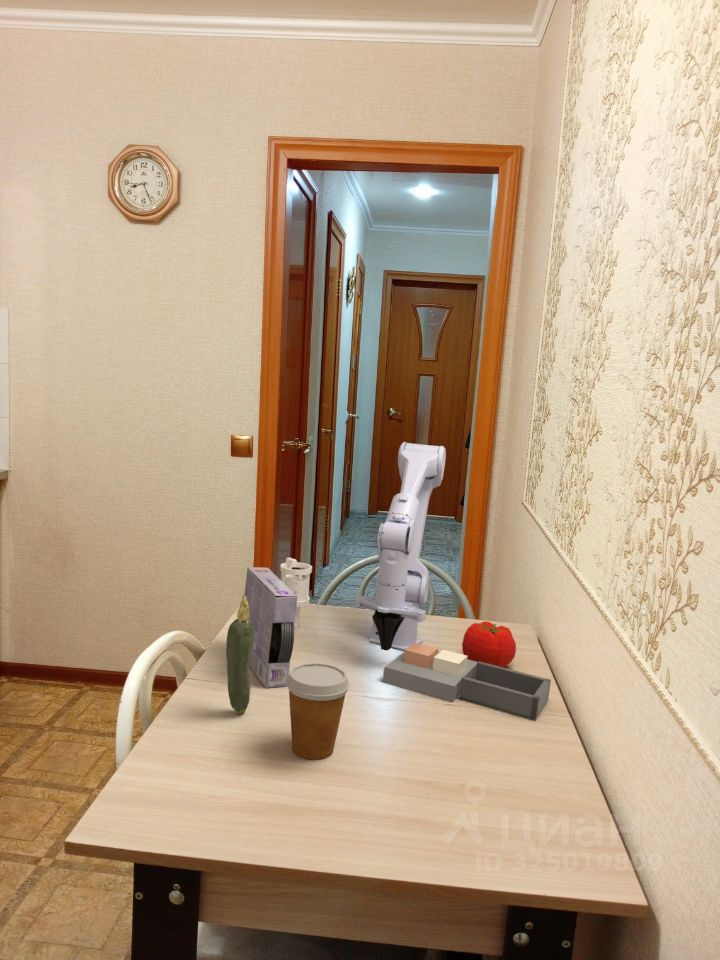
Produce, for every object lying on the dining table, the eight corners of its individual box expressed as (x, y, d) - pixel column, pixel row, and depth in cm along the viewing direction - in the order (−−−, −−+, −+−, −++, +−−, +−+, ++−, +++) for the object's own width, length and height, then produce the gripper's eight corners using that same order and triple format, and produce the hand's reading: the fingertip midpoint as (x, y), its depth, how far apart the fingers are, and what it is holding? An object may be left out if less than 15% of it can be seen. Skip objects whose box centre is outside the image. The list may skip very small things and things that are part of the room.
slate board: (382, 681, 135) (384, 666, 134) (411, 659, 147) (413, 645, 147) (452, 702, 128) (454, 686, 128) (477, 676, 141) (478, 662, 140)
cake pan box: (292, 689, 129) (299, 594, 126) (266, 692, 126) (272, 595, 124) (261, 649, 146) (267, 565, 143) (237, 651, 144) (242, 566, 141)
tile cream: (432, 669, 135) (433, 657, 134) (441, 661, 139) (443, 649, 139) (457, 676, 133) (458, 663, 132) (466, 668, 137) (467, 655, 137)
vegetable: (243, 722, 114) (250, 602, 112) (217, 718, 115) (224, 599, 113) (252, 711, 119) (260, 595, 116) (228, 706, 120) (235, 591, 117)
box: (459, 698, 130) (461, 678, 130) (476, 680, 139) (478, 661, 138) (535, 720, 124) (538, 698, 123) (548, 700, 133) (550, 679, 132)
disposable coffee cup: (347, 737, 112) (353, 665, 111) (339, 769, 103) (346, 691, 101) (288, 730, 113) (293, 658, 112) (275, 761, 104) (280, 683, 102)
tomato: (518, 678, 142) (523, 636, 141) (463, 673, 142) (467, 631, 141) (508, 658, 152) (512, 619, 151) (457, 653, 152) (461, 614, 151)
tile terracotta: (403, 662, 137) (404, 649, 137) (413, 654, 142) (414, 642, 142) (427, 668, 135) (428, 656, 135) (437, 660, 140) (438, 648, 139)
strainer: (296, 618, 166) (301, 555, 164) (313, 628, 161) (318, 563, 159) (270, 622, 162) (274, 558, 160) (287, 632, 156) (292, 566, 154)
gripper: (349, 579, 140) (344, 645, 141) (418, 594, 133) (411, 663, 135) (366, 572, 146) (360, 635, 148) (432, 586, 139) (425, 652, 141)
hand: (386, 648), depth 142 cm, fingers closed
